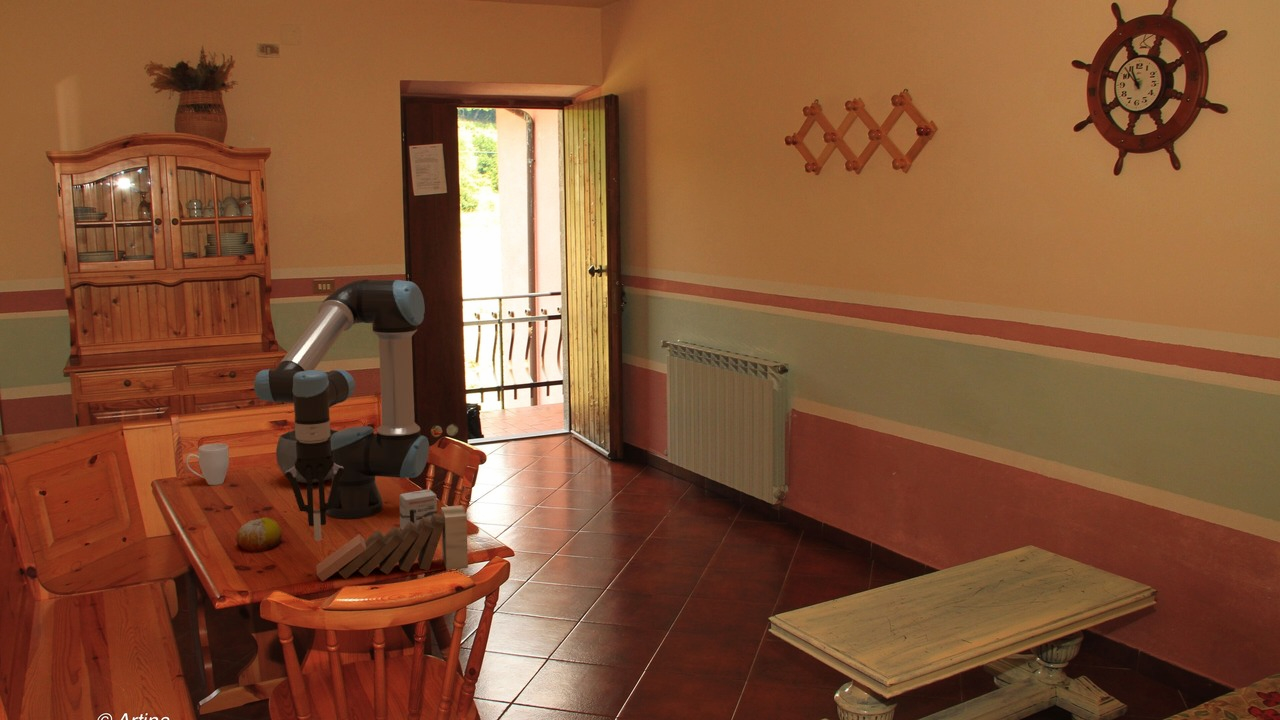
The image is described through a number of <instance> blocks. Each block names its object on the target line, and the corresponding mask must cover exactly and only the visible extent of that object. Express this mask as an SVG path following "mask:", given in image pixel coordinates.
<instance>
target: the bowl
mask: <svg viewBox="0 0 1280 720" xmlns="http://www.w3.org/2000/svg"><path fill="white" fill-rule="evenodd" d="M338 431H339V430H337V429H336V430H334V429H333V428H332V429H331V428H330V437H329V439H331V436H332V435H333V434H334V433H336V432H338ZM297 441H298V440H297V439H296V436H295V429H293V430H291V431H287V432H285V433H282V434H280V435H279V438H278V441H277V444H276V448H275V449H276V453H275V454H276V455H275V456H276V463H277V465H278V467H279V469H280V471H281V472H282V473H283V474H284V475H285V472H286V470H288V469H289V470H290V469H291V468H292V467H294V466H295V462H296V460H297V456H296V442H297ZM296 473H297V476H296V479H297V482H298V483H301V484H302V483H304V484H306V479H305V478H304V477H303V476H302V475H301V474H300V473H299V472H298V471H296ZM330 479H332V476H331V470H330V471H329V473H328V474H327V476H326V477H325V478H324V482H325V481H328V480H330ZM313 483H315V484H316V483H318V480H317V479H314V480H312V484H313Z"/></svg>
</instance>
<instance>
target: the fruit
mask: <svg viewBox="0 0 1280 720" xmlns="http://www.w3.org/2000/svg"><path fill="white" fill-rule="evenodd" d="M282 538H283V533H282V529H281V525H279V523H278V522H277V521H275V520H274V519H273V518H271V517H260V518H257V519H253V520H252V519H251V520H248V521H247V522H246V523H245V524H242V525H241V526H240V528H239V529H238V531H237V532H236V537H235V539H236V542H237V546H239V547H241V548H242V550H243V551H247V552H251V553H252V552H264V551H268V550H271V549H274V548H275V547H277V546H279V545H280V544H281V542H282Z"/></svg>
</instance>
